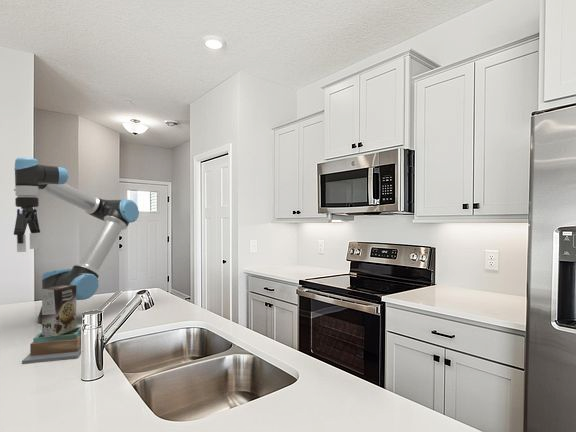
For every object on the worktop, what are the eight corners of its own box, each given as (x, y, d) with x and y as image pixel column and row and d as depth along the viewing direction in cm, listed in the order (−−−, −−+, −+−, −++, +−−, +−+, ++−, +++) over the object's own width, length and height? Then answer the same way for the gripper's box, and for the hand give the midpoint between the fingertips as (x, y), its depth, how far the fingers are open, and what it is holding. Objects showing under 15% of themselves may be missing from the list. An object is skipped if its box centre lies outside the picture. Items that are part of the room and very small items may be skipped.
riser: (43, 344, 134) (43, 329, 134) (86, 340, 138) (85, 325, 138) (30, 356, 122) (30, 339, 122) (77, 351, 126) (77, 335, 126)
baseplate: (44, 343, 138) (44, 340, 138) (91, 339, 142) (91, 336, 142) (21, 364, 118) (21, 360, 118) (77, 358, 123) (77, 355, 123)
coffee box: (57, 336, 125) (56, 289, 125) (41, 335, 126) (41, 288, 127) (77, 328, 134) (77, 284, 134) (62, 327, 135) (62, 284, 135)
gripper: (27, 198, 157) (28, 247, 157) (2, 195, 133) (3, 253, 133) (47, 198, 159) (48, 247, 159) (26, 195, 135) (27, 252, 135)
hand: (28, 250), depth 146 cm, fingers open, 13 cm apart
